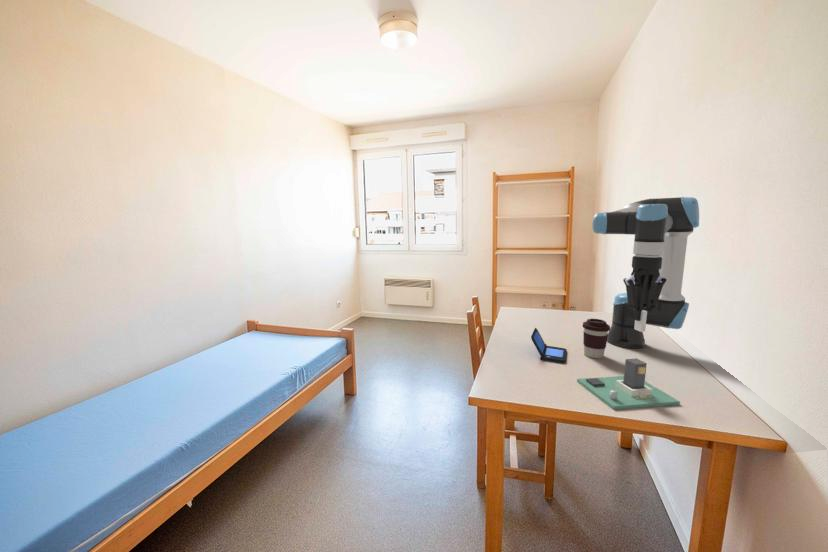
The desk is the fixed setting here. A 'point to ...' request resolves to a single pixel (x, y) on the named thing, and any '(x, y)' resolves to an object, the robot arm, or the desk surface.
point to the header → (633, 392)
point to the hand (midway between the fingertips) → (639, 330)
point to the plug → (634, 373)
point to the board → (624, 394)
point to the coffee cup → (595, 337)
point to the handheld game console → (548, 349)
